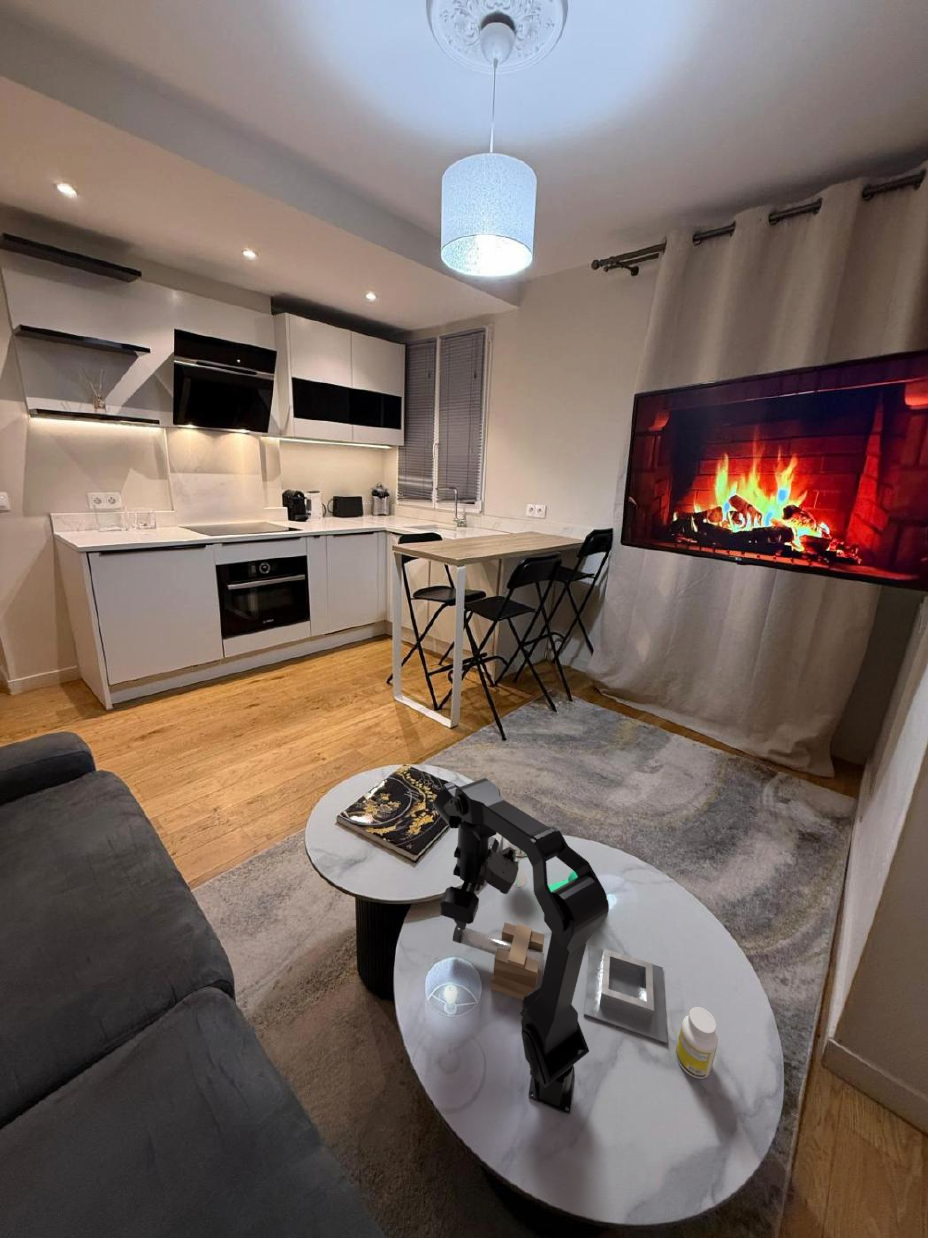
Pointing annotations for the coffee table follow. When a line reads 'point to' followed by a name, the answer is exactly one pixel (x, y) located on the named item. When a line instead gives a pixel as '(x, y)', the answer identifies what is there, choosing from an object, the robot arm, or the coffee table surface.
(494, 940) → the pin
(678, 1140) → the coffee table surface
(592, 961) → the socket
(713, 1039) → the supplement bottle
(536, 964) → the mount
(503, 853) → the robot arm
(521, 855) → the wineglass
